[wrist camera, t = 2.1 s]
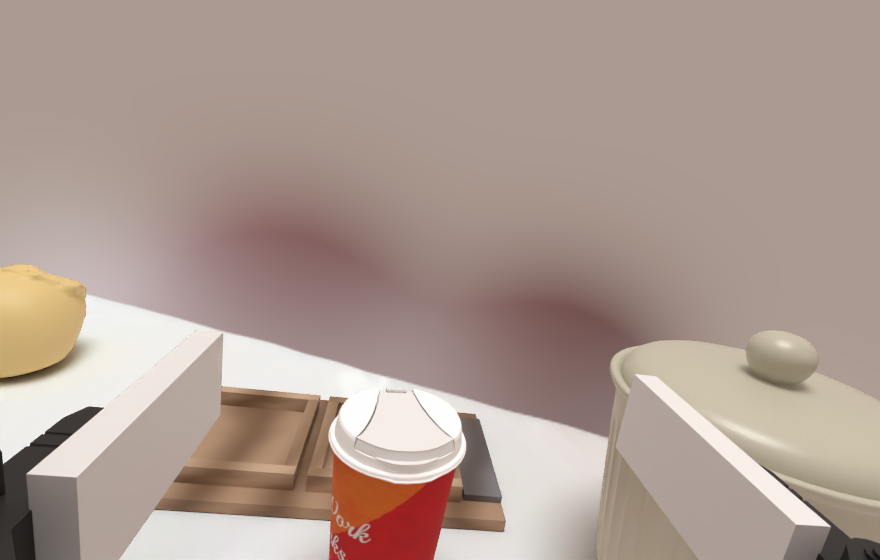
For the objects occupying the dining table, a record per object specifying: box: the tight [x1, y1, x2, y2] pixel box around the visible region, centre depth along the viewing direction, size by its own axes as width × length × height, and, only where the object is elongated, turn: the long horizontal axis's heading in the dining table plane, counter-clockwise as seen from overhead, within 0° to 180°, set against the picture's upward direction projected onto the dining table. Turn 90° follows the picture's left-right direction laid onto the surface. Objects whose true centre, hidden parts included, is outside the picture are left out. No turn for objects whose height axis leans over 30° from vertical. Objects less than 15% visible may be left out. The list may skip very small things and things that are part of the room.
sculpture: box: [0, 264, 86, 378], centre depth 50 cm, size 11×12×11 cm
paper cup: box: [329, 387, 466, 560], centre depth 28 cm, size 8×8×14 cm
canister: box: [597, 330, 880, 560], centre depth 30 cm, size 18×18×21 cm
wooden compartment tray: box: [155, 386, 506, 531], centre depth 43 cm, size 33×16×2 cm, turn 95°
